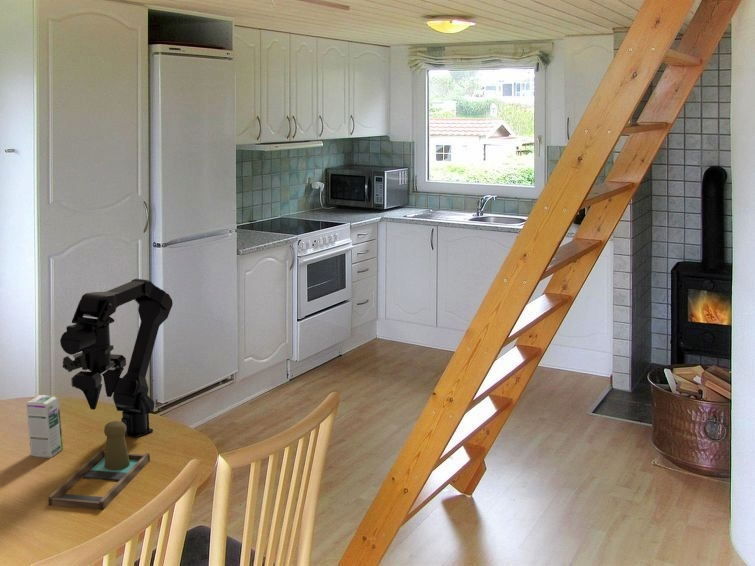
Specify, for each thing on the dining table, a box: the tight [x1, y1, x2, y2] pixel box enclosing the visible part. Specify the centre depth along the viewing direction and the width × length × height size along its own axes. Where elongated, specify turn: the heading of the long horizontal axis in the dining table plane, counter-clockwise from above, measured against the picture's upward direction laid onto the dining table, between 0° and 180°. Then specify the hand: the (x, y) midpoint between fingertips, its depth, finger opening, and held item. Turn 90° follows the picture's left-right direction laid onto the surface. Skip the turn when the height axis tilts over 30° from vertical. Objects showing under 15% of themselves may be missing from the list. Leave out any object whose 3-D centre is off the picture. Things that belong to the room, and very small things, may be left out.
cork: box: [103, 420, 130, 470], centre depth 220 cm, size 6×6×11 cm
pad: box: [91, 457, 139, 473], centre depth 221 cm, size 7×10×1 cm
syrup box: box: [25, 394, 64, 459], centre depth 227 cm, size 6×6×14 cm
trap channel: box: [47, 449, 151, 511], centre depth 213 cm, size 26×13×2 cm, turn 171°
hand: (101, 402), depth 227 cm, fingers open, 9 cm apart
